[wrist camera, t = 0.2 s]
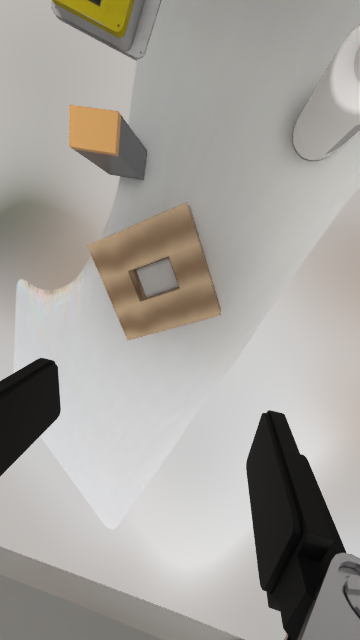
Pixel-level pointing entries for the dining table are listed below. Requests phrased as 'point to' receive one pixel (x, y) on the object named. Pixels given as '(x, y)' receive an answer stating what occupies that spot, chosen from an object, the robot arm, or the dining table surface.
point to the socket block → (146, 248)
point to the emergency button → (112, 21)
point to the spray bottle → (332, 105)
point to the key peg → (107, 141)
